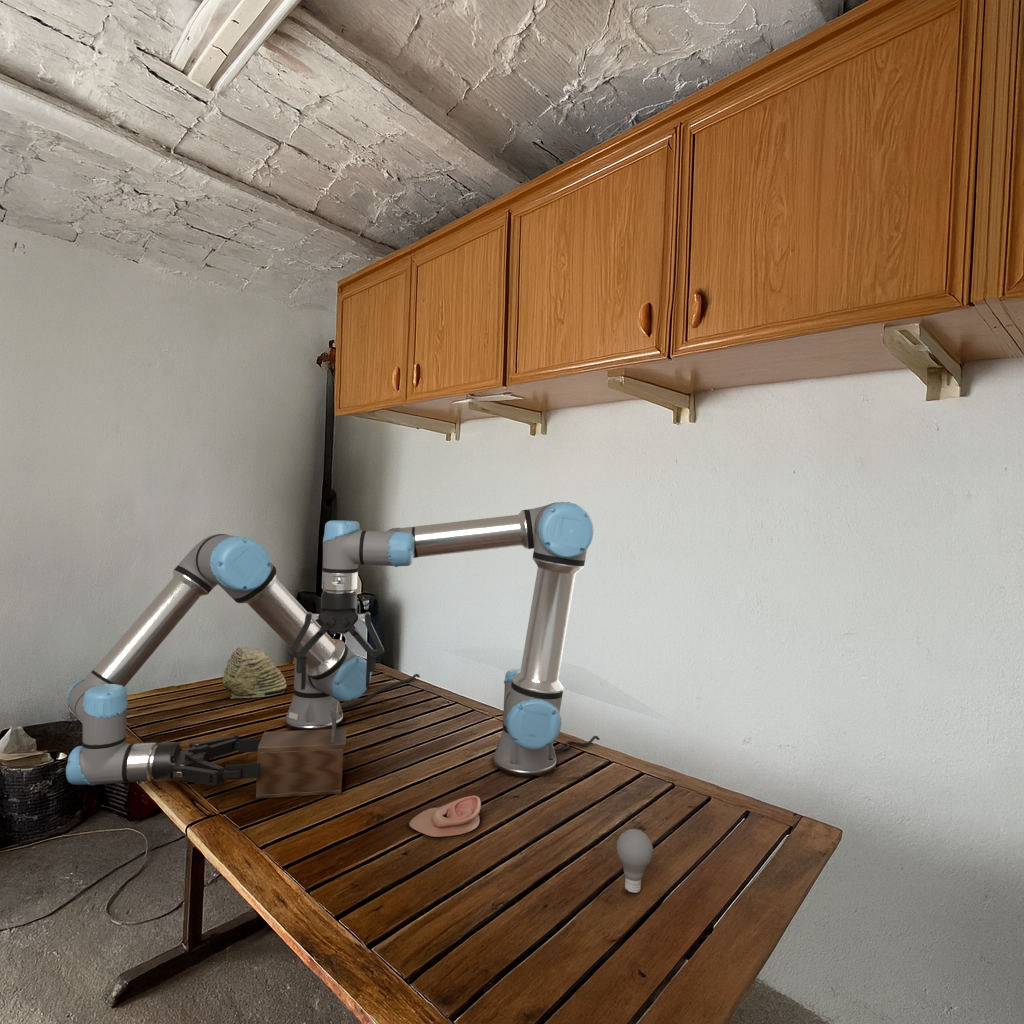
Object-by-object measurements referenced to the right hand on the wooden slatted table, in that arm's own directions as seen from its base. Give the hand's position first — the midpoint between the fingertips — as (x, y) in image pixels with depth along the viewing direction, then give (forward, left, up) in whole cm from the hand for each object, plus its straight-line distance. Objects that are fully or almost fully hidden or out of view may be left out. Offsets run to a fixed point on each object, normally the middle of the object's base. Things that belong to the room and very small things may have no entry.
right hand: (335, 687), depth 139 cm
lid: (+6, -1, -12) cm, 13 cm away
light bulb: (-46, +52, -22) cm, 72 cm away
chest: (+6, -1, -22) cm, 23 cm away
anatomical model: (-20, +22, -22) cm, 37 cm away
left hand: (+14, -1, -15) cm, 20 cm away
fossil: (+20, -69, -22) cm, 75 cm away
